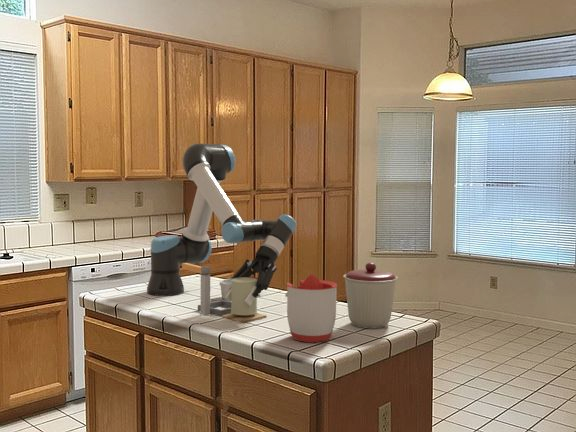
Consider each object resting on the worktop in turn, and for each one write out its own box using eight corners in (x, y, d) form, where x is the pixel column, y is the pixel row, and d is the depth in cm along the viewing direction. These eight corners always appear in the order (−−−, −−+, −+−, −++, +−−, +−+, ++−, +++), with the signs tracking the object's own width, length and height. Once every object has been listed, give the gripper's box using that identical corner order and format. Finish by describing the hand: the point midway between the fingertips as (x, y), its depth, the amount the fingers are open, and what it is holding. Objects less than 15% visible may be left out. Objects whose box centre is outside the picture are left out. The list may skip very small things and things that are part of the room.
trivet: (221, 317, 214) (221, 315, 214) (244, 312, 222) (244, 310, 222) (244, 323, 207) (244, 320, 207) (266, 317, 215) (266, 315, 215)
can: (245, 308, 221) (245, 275, 220) (262, 312, 215) (263, 278, 214) (225, 312, 215) (225, 278, 214) (242, 316, 208) (242, 281, 207)
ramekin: (238, 303, 238) (238, 285, 237) (212, 299, 245) (212, 281, 245) (259, 297, 248) (259, 280, 248) (234, 293, 256) (234, 277, 255)
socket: (191, 311, 222) (191, 273, 221) (222, 305, 234) (222, 268, 233) (214, 317, 214) (214, 277, 213) (246, 310, 226) (246, 272, 225)
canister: (331, 325, 206) (332, 262, 204) (361, 315, 219) (362, 257, 218) (378, 335, 194) (379, 269, 192) (406, 324, 208) (408, 262, 206)
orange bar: (203, 274, 216) (204, 267, 216) (180, 268, 229) (180, 262, 228) (211, 274, 218) (211, 267, 218) (187, 267, 230) (187, 261, 230)
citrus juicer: (303, 327, 202) (304, 267, 200) (346, 337, 191) (347, 273, 189) (271, 337, 190) (271, 273, 189) (315, 348, 179) (316, 280, 177)
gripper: (296, 261, 218) (265, 313, 207) (253, 254, 232) (221, 303, 221) (287, 247, 213) (254, 300, 203) (243, 242, 227) (210, 290, 217)
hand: (237, 301), depth 212 cm, fingers closed on can, 9 cm apart
